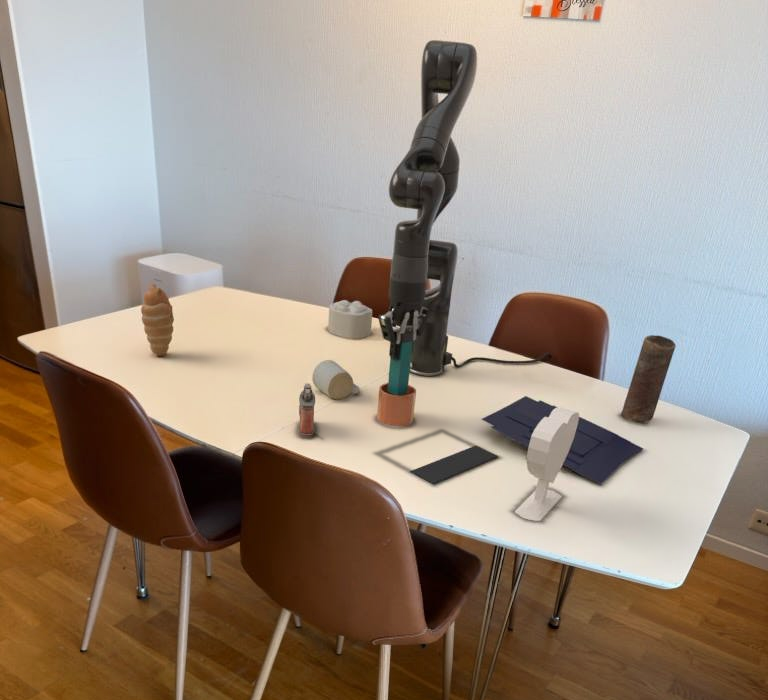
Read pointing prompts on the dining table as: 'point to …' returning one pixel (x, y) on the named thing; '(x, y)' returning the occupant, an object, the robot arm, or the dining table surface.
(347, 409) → the dining table surface
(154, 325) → the ridged brown croissant
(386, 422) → the pen cup
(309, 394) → the lighter
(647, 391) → the brown hollow cylinder
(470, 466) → the mat
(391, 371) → the block
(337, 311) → the lumpy-topped squat cylinder
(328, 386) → the ceramic mug
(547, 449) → the heart sculpture
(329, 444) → the dining table surface
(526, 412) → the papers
